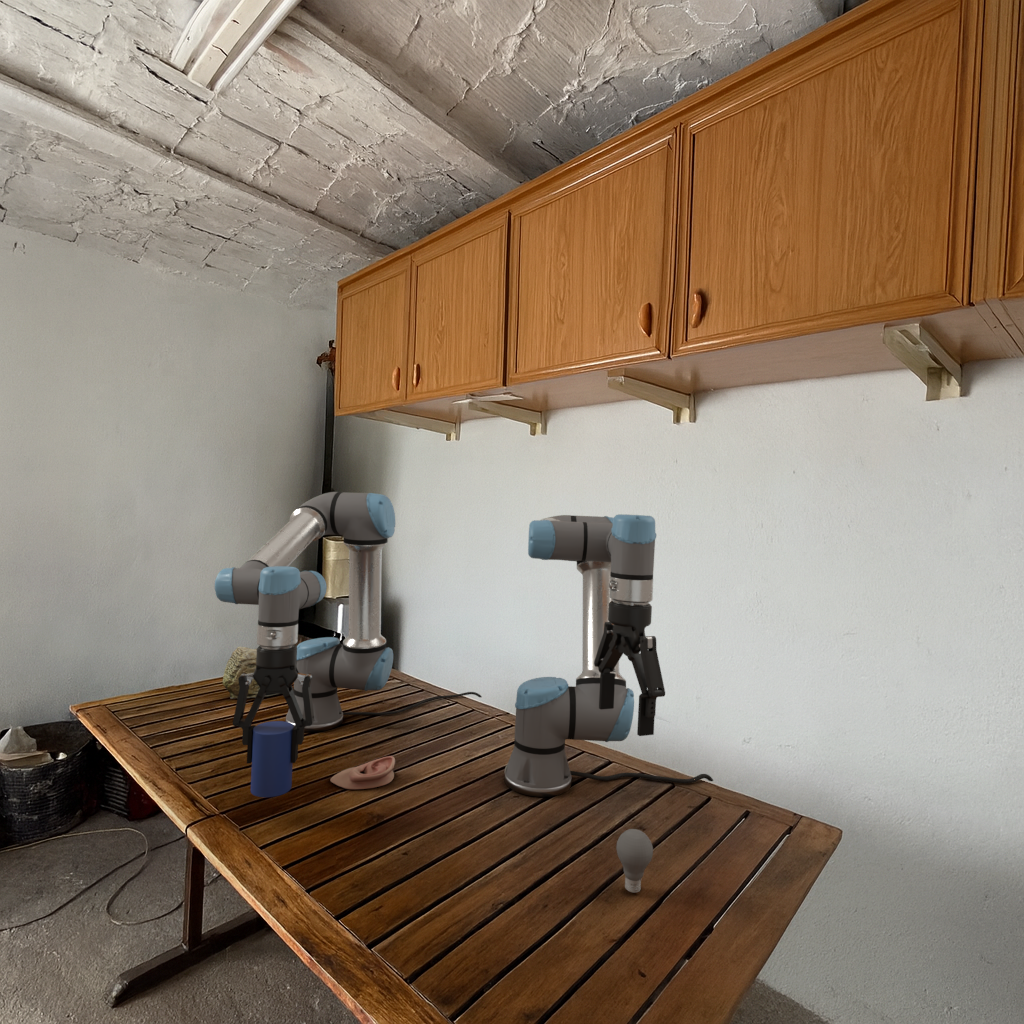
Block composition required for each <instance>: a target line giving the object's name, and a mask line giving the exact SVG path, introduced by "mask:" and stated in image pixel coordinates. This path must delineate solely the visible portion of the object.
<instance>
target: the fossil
mask: <svg viewBox="0 0 1024 1024" xmlns="http://www.w3.org/2000/svg"><path fill="white" fill-rule="evenodd" d="M256 654H257V648H251V647H247V646H246V647H245V646H238V647H237V648H236V649H235V650H233V651H232V653H231V656H230V657H229V659H228V660H227V663H226V666H225V668H224V671H223V675H222V676H223V677H222V685H223V687H224V688H225V690H226V691H228V693H229V698H230V699H238V694H239V689H240V687H239V681H238V678H239V677H240V676H241V675H242V674H243V673H247V674H249V673H254V671H255V669H256ZM259 689H260V687H259V685H258V684H257V682H256V681H255V680H254V679H252V683H251V684H250V685H249V690H248V695H247V699H250V698H256V695H257V693H258V691H259ZM275 695H279V694H278V693H271V694H265V696H264V698H265V697H271V696H275Z"/></svg>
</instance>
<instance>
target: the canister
mask: <svg viewBox="0 0 1024 1024" xmlns="http://www.w3.org/2000/svg"><path fill="white" fill-rule="evenodd" d="M293 728H294V725H293V724H292V723H289V722H286V720H285V721H283V720H272V721H266V722H261V723H259V724H257V725H256V726H255V727H254V728H253V744H252V762H251V768H250V769H251V771H250V772H251V773H250V793H251V795H253V796H255V797H257V798H275V797H279V796H282V795H285V794H287V793H288V792H289V791H291V789H292V787H293V786H292V784H293V764H294V763H291V752H292V730H293Z"/></svg>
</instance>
